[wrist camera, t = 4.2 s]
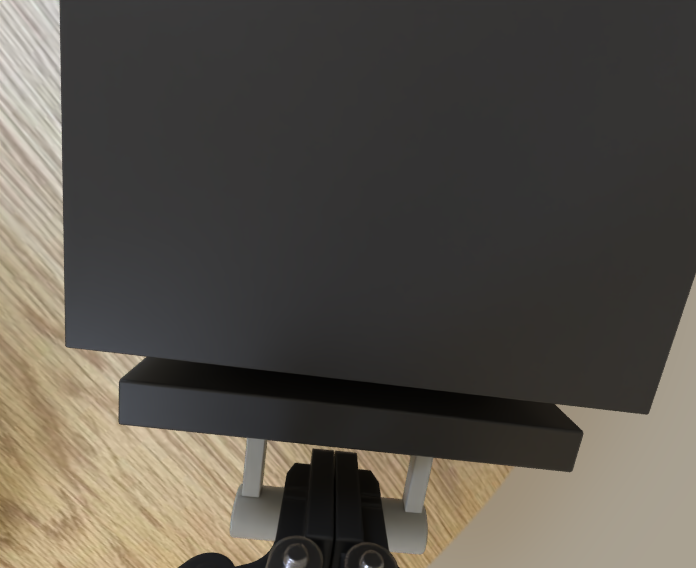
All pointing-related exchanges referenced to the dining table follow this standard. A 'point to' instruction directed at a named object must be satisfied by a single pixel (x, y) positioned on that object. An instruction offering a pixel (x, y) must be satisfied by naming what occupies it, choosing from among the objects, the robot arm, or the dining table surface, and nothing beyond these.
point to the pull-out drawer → (343, 430)
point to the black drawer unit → (385, 189)
